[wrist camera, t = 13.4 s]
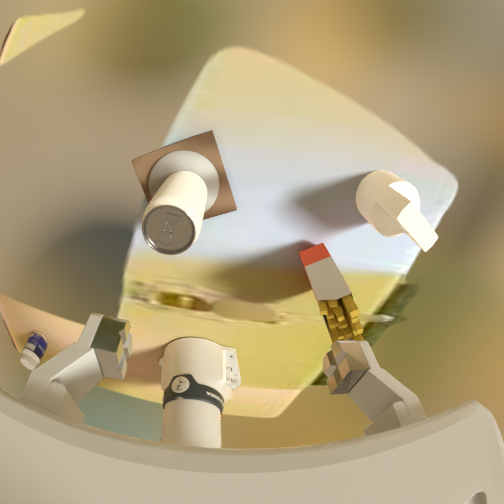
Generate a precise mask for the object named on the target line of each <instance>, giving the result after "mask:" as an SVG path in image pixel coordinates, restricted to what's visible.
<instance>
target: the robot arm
mask: <svg viewBox="0 0 504 504" xmlns="http://www.w3.org/2000/svg"><path fill="white" fill-rule="evenodd" d="M129 330H130V322H129V321H127V320H123V319H118V318H114V317H110V316H106V315H101V314H97V313H92V314H91V315H90V317H89V319H88V321H87V323H86V325H85V327H84V330H83V332H82V334H81V336H80V338H79V341H78V343H77V344H76V343H73V344H72V345H70V346H69V347H67V348H66V349H64V350H63V351H61V352H60V353H58V354H57V355H55V356H54V357H52V358H51V359H49V360H48V361H47V362H45V363H44V364H42V365H41V366H39V367H38V368H36V369H35V370H33V371H32V372H31V374H30V377H29V379H28V382H27V384H26V386H25V389H24V391H23V395H22V397H21V399H19V398H17V397H15V396H13V395H11V394H9V393H8V392H6V391H3V390H2V389H0V504H504V442H503V439H502V436H501V434H500V431H499V428H498V426H497V423H496V421H495V419H494V417H493V415H492V414H491V413H490V412H489V411H488V410H487V409H486V408H485V407H484V406H482V405H481V404H480V403H478V402H476V401H474V400H471V401H468V402H466V403H463V404H461V405H459V406H457V407H454V408H452V409H450V410H447V411H445V412H442V413H440V414H437V415H434V416H432V417H429V418H427V417H426V415H425V413H424V411H423V408H422V406H421V404H420V401H419V399H418V397H417V396H416V395H415V394H414V393H412V392H411V391H410V390H409V389H407V388H406V387H405V386H404V385H402V384H401V383H400V382H398V381H397V380H396V379H395V378H394V377H393V376H391V375H390V374H389V373H388V372H386V371H385V370H384V369H380V367H379V365H378V363H377V361H376V358H375V356H374V354H373V352H372V350H371V347H370V345H369V343H368V342H367V341H335V342H334V343H333V344H332V345H331V349H332V350H331V351H329V352H328V353H326V355H325V357H324V359H323V371H324V374H325V375H326V376H327V377H329V378H328V381H327V384H328V387H329V391H330V394H347V393H348V394H347V395H348V396H349V397H350V398H351V399H352V400H353V401H354V403H355V404H356V405H357V406H358V407H359V408H360V409H361V410H362V411H363V413H364V414H365V415H366V416H367V417H368V418H369V419H370V420H371V421H372V422H371V423H370V424H369V425H368V426H367V427H365V429H364V432H365V435H366V436H363V437H358V438H354V439H348V440H343V441H336V442H330V443H323V444H316V445H307V446H298V447H285V448H268V449H225V448H221V418H222V417H221V416H220V415H222V411H223V408H224V403H225V402H227V401H229V400H230V399H231V398H232V397H233V389H237V388H238V386H239V385H240V384H241V376H240V371H239V365H238V360H237V354H236V350H235V349H234V348H231V347H226V346H221V345H219V344H216V343H214V342H212V341H209V340H206V339H202V338H181V339H177V340H175V341H173V342H171V343H169V344H168V345H167V347H166V348H165V351H164V356H163V357H162V358H160V360H159V365H160V366H161V367H162V378H161V388H162V390H163V391H164V396H163V409H164V416H163V425H162V434H161V439H160V442H155V441H150V440H144V439H139V438H134V437H130V436H125V435H121V434H117V433H113V432H109V431H105V430H101V429H98V428H94V427H91V426H87V425H85V424H83V423H84V415H83V414H82V412H81V411H80V409H79V408H78V406H77V405H76V404H77V403H78V402H79V401H80V400H81V399H82V398H83V397H84V396H85V395H86V394H87V393H88V392H89V391H90V390H91V389H92V388H93V387H94V386H96V385H97V384H98V383H99V382H100V381H101V380H102V379H103V378H104V377H108V378H113V379H118V380H123V381H124V378H125V374H126V370H127V363H126V360H127V359H129V358H130V354H131V349H132V335H131V334H130V333H129ZM103 376H104V377H103Z"/></svg>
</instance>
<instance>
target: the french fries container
mask: <svg viewBox="0 0 504 504" xmlns="http://www.w3.org/2000/svg"><path fill="white" fill-rule="evenodd" d="M299 255H300V258H301V260H302V263H303V266H304V268H305V271H306V274H307V276H308V279H309V282H310V284H311V287H312V290H313V292H314V295H315V297H316V300H317V303H318V305H319V308H320V315H322V316H323V318H324V321H325V323H326V326H327V329H328V331H329V334H330V337H331V339H332V343H334V342H335V341H364V339H363V337H362V335H361V334H360V333H363V327H362V325H361V324H360V322H359V320H358V317H357V316H358V315H360V313H359V309H358V307H357V306H356V304H355V302H354V301H353V296H352V293H351V291H350V289H349V287H348V285H347V284H346V282H345V280H344V278H343V276H342V275H341V273H340V271H339V269H338V268H337V266H336V264H335V262H334V261H333V259H332V257H331V255H330V254H329V252H328V250H327V249H326V247H325V245H324V244H323V243H321V244H318V245H316V246H313V247H311V248H308V249H306V250H303V251H301V252H299Z"/></svg>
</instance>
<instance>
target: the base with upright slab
mask: <svg viewBox="0 0 504 504" xmlns="http://www.w3.org/2000/svg"><path fill="white" fill-rule="evenodd" d="M355 200H356V206H357V209H358V211H359V212H360V214H361V215H362V216H363V217H364V218H365V219H366V220H367V221H368V222H369V223H370V224H371V225H372V226H373V227H374V228H375V229H376V230H377V231H378V232H379V233H380V234H382V235H383V236H387V237H395V236H398V235H401V234H403V233H404V232H405V233H406V234H407V235H408V236H409V237H410V238H411V239H412V240H413V241H414V242H415V243H416V244H417V245H418V246H419V247H421V248H422V249H423V250H424V251H425V252H426V251H427V250H429V249H430V248H431V247H432V245H433V244H434V243H435V242H436V240H437V238H438V236H437V234H436V233H435V231H434V230H433V229H432V227H431V226H430V225H429V223H428V222H427V221H426V219H425V218H424V217H423V215H422V214H421V213H420V211H419V210H420V198H419V194H418V192H417V190H416V188H415V187H414V186H412V185H411V184H410V183H408V182H407V181H405V180H403V179H402V178H400V177H398V176H396V175H395V174H393V173H391V172H389V171H386V170H376V171H373V172H371V173H369V174H368V175H367V176H365V177H364V178H363V179H362V181H361V182H360V184H359V186H358V188H357V191H356V198H355Z"/></svg>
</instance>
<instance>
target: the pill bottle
mask: <svg viewBox="0 0 504 504" xmlns="http://www.w3.org/2000/svg"><path fill="white" fill-rule="evenodd" d="M47 346H48V340H47V338H46V337H45V336H44V335H43V334H42V333H40V332H38V331H33V332H32V334H31V336H30V337H29V339H28V341H27V343H26V345H25V347H24V349H23V356H22V357H21V359H20V361H21V363H22V364H23V365H24V366H25V367H26V368H28V369H30V370H35V368H36V364H39V363H40V361H41V359H42V357H43V355H44V352H45V350H46V348H47Z"/></svg>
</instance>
